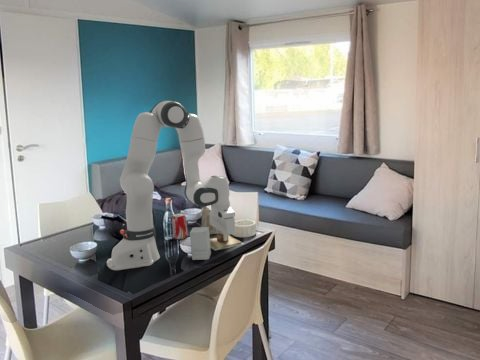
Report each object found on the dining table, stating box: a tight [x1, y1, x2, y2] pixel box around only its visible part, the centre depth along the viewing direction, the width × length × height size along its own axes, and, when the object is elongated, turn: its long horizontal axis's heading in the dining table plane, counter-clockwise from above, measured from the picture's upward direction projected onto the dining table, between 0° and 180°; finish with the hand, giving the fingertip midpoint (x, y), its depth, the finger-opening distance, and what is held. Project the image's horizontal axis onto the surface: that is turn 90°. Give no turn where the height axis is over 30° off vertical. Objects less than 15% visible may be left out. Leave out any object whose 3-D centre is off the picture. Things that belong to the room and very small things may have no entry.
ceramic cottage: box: [200, 206, 223, 235], centre depth 242 cm, size 16×16×15 cm
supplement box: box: [189, 226, 212, 261], centre depth 202 cm, size 7×7×13 cm
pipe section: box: [231, 219, 257, 238], centre depth 231 cm, size 12×12×6 cm
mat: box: [210, 242, 245, 251], centre depth 220 cm, size 15×15×1 cm
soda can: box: [171, 212, 188, 240], centre depth 230 cm, size 7×7×12 cm
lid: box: [210, 232, 243, 250], centre depth 220 cm, size 13×13×4 cm
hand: (222, 238), depth 220 cm, fingers closed on lid, 4 cm apart
